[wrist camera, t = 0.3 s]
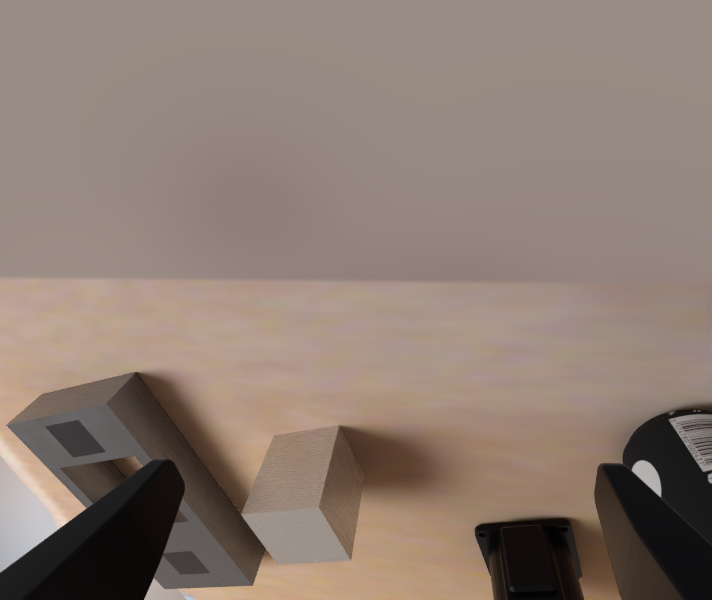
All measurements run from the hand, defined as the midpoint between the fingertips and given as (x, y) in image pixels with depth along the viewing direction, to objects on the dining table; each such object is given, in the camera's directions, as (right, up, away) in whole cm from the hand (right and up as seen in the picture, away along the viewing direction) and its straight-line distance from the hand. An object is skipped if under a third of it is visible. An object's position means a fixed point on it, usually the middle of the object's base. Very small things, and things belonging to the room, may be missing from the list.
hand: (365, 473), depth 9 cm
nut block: (-3, -7, +21) cm, 22 cm away
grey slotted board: (-16, -11, +25) cm, 31 cm away
